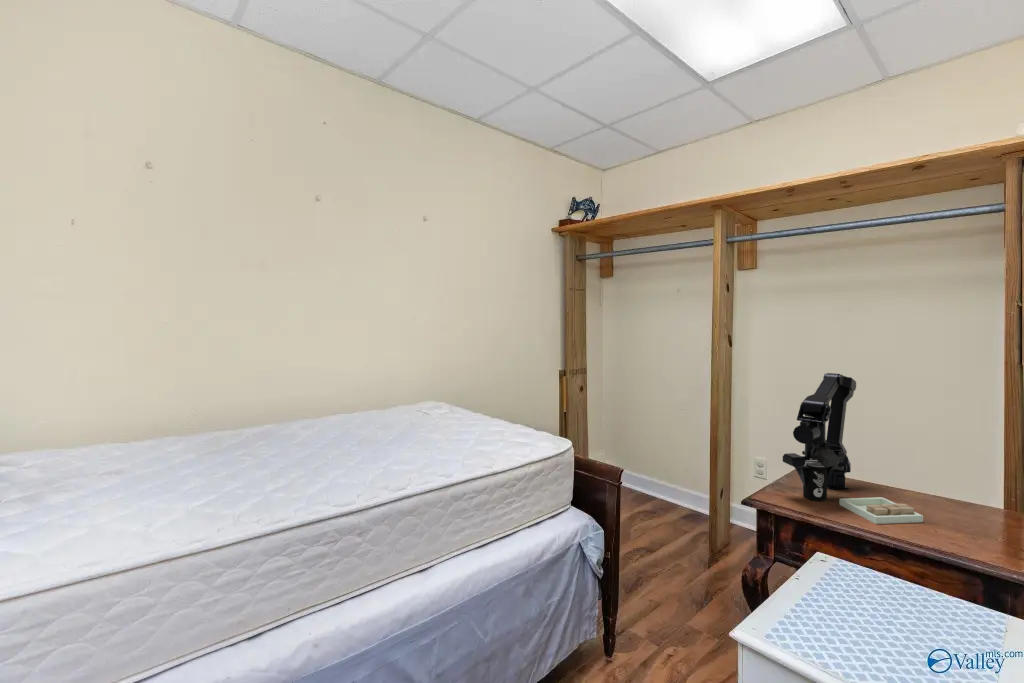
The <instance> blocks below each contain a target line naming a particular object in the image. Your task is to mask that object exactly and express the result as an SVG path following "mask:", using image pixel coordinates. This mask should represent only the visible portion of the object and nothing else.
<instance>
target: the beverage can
mask: <svg viewBox="0 0 1024 683" xmlns="http://www.w3.org/2000/svg"><path fill="white" fill-rule="evenodd" d="M806 466H808V467H809V469H808V470H807V485H803V484H802V485H803V486H802V496H803V498H805V499H807V500H808V501H809V500H810V501H813V502H825V501H827V500H828V487H827V469H826V467H824V466H822V465H821V463H820V462H806Z"/></svg>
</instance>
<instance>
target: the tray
mask: <svg viewBox="0 0 1024 683" xmlns="http://www.w3.org/2000/svg"><path fill="white" fill-rule="evenodd" d="M883 504H891V505H893V504H897V503H896V502H894V501H891V500H889V499H887V498H885V497H881V496H877V497H854V498H853V497H850V498H839V506H841V507H842V508H845V509H846V510H849V511H850V512H852V513H854V514H856V515H858V516H860V517H861V518H864V519H865V520H867V521H869V522H871V523H873V524H875V525H881V524H883V525H887V524H889V525H890V524H913V523H915V524H917V523H918V524H919V523H924V515H923V514H920V513H918V512H916V511H914V514H913V515H885V516H876V515H874V514H872V513H870V512H868V511H866V505H883Z"/></svg>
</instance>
